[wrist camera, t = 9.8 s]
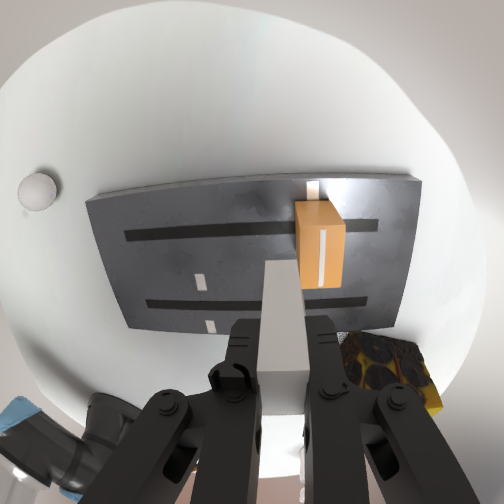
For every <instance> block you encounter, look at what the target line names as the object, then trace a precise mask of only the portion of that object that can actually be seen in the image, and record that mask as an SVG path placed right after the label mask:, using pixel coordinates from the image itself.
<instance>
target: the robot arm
mask: <svg viewBox="0 0 504 504" xmlns="http://www.w3.org/2000/svg"><path fill="white" fill-rule="evenodd" d="M208 378H209V381H210V384H211V387H212V389H211V390H209V391H207V392H204V393H200V394H195V395H189V396H185V395H184V394H183V393H181V392H179V391H178V390H172V389H167V390H162V391H160V392H157V393H155V394H154V395H153V396H152V397H151V398H150V400H149V401H148V402H147V404H146V405H145V407H144V408H143V410H142V411H141V410H139V409H138V408H136V407H134V406H132V405H130V404H128V403H126V402H124V401H122V400H120V399H117V398H115V397H112V396H109V395H105V394H93V395H92V397H91V399H90V401H89V403H88V411H87V418H86V428H85V432H84V434H83V436H82V438H81V439H80V438H78V437H77V436H75V435H74V434H72V433H71V432H69V431H68V430H66V429H65V428H64V427H62V426H61V425H60V424H58V423H57V422H56V421H54V420H53V419H52V418H51V417H49V416H48V415H47V414H45V413H44V412H43V411H42V409H41V408H38V407H37V406H36V405H34V404H33V403H32V402H31V401H29V400H28V399H27V398H25V397H23V396H18V397H16V398H15V399H14V400H12V402H10V404H9V405H8V406H7V407H6V408H5V409H4V410H3V412H2V413H1V414H0V504H34V501H35V499H36V496H37V493H38V491H40V490H46V489H49V487H50V485H51V482H54V483H56V484H57V485H59V486H60V487H59V489H60V493H61V494H62V495H64V496H65V497H67V498H69V499H71V500H73V501H76V502H78V503H77V504H174V503H175V501H176V500H177V498H178V496H179V494H180V492H181V491H182V488H183V487H184V485H185V483H186V481H187V479H188V478H189V476H190V474H191V472H192V470H193V468H194V466H195V465H196V463H197V461H198V459H199V461H198V466H197V471H196V476H195V481H194V486H193V491H192V496H191V501H190V504H256V499H257V487H258V475H259V462H260V449H261V435H262V426H261V418H262V415H301V414H304V413H305V424H304V430H303V436H302V437H304V460H305V500H304V504H370V502H369V491H368V482H367V473H366V465H365V457H364V454H365V456H366V458H367V460H368V463H369V465H370V467H371V470H372V472H373V474H374V476H375V479H376V481H377V483H378V485H379V488H380V490H381V492H382V495H383V497H384V499H385V502H386V504H480V502H479V500H478V498H477V496H476V494H475V493H474V490H473V489H472V487H471V485H470V483H469V481H468V479H467V477H466V475H465V473H464V472H463V470H462V468H461V467H460V464H459V463H458V461H457V459H456V457H455V456H454V454H453V452H452V450H451V449H450V447H449V445H448V444H447V442H446V440H445V439H444V437H443V435H442V434H441V432H440V430H439V429H438V427H437V425H436V424H435V422H434V421H433V419H432V417H431V416H430V414H429V413H428V411H427V410H426V408H425V406H424V405H423V403H422V402H421V400H420V399H419V397H418V396H417V394H416V393H415V391H414V390H413V389H412V388H411V387H410V386H407V385H405V384H403V383H392V384H388V385H387V386H385V387H384V388H382V390H381V391H378V390H371V389H365V388H361V387H358V386H356V385H354V384H353V383H352V382H351V381H349V379H348V378H347V376H346V373H345V370H344V365H343V360H342V355H341V351H340V346H339V343H338V337H337V334H336V329H335V324H334V322H333V321H332V320H331V319H330V318H329V317H328V315H317V316H304V310H303V301H302V293H301V285H300V278H299V271H298V263H297V259H293V260H266V261H265V274H264V288H263V301H262V313H261V318H248V319H238V320H237V321H236V322H235V323H234V325H233V326H232V327H231V332H230V337H229V342H228V347H227V351H226V356H225V361H223V362H221V363H218V364H217V365H215V366H214V367H213V368H212V369H211V370H210V372H209V374H208Z"/></svg>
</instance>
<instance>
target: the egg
mask: <svg viewBox="0 0 504 504" xmlns="http://www.w3.org/2000/svg"><path fill="white" fill-rule="evenodd" d="M56 191H57V190H56V185H55V183H54V181H53V180H52V179H51V178H50V177H49V176H47V175H45V174H42V173H35V174H31V175H29V176H27V177H26V178H24V179H23V181H22V182H21V183H20V185H19V187H18V199H19V202H20V203H21V205H22V206H23V207H25V208H26V209H28V210H30V211H41V210H44V209H46V208H48V207H49V206H50V205H51V204H52V203H53V201H54V200H55V197H56Z"/></svg>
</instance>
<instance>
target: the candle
mask: <svg viewBox="0 0 504 504" xmlns="http://www.w3.org/2000/svg"><path fill="white" fill-rule="evenodd" d="M340 351H341V355H342V360H343V365H344V370H345V373H346V376H347V378H348V379H349V381H351V382H352V383H353V384H354V385H356V386H358V387H361V388H365V389H371V390H378V391H381V390H382V388H384V387H385V386H387V385H388V384H392V383H403V384H405V385H407V386H410V387H411V388H412V389H413V390H414V391H415V393H416V394H417V396H418V397H419V399H420V400H421V402H422V403H423V405H424V406H425V408H426V410H427V411H428V413H429V414H430V416H431V417H433V416H434V415H435V414H437V413H438V412H439V411H441V410H442V408H443V405H442V401H441V399H440V396H439V393H438V391H437V389H436V387H435V384H434V383H433V381H432V379H431V378H430V374H429V372H428V370H427V368H426V366H425V364H424V358H423V356H422V354H421V353H420V351H419V348H418V345H416V344H414V343H412V342H406V341H403V340H400V341H399V340H397V339H391V338H388V337H384V336H376V335H372V334H368V333H362V332H360V331H353V332H351V333H350V334H349V335H348V337H347V338H346V339H345V341H344V342H343V344H342V345H341V346H340Z"/></svg>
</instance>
